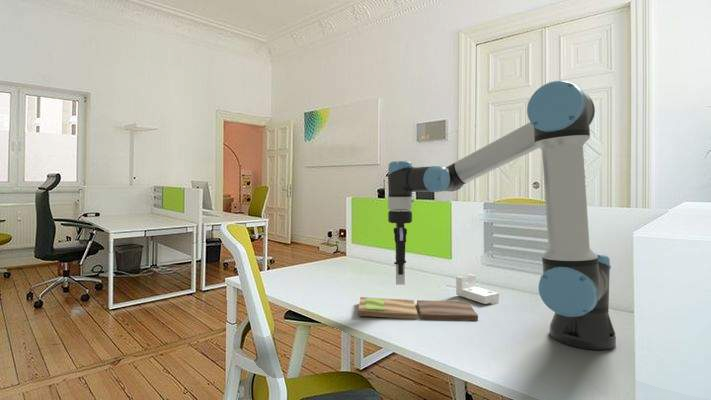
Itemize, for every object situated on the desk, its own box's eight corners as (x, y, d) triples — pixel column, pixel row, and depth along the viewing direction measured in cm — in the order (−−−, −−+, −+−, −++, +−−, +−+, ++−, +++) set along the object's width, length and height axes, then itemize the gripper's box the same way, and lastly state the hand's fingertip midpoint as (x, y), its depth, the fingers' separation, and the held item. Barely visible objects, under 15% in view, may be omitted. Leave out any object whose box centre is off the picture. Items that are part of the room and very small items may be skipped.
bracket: (456, 297, 141) (456, 276, 141) (469, 294, 145) (469, 274, 145) (484, 306, 130) (485, 284, 130) (498, 303, 134) (499, 281, 134)
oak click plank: (417, 319, 117) (417, 313, 117) (358, 315, 118) (358, 309, 118) (413, 304, 131) (413, 299, 131) (360, 301, 132) (360, 296, 132)
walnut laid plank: (477, 320, 116) (478, 315, 116) (421, 319, 117) (421, 314, 117) (467, 305, 130) (467, 301, 130) (416, 304, 131) (416, 300, 131)
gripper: (414, 211, 116) (414, 289, 117) (410, 208, 129) (410, 279, 130) (388, 211, 117) (389, 289, 118) (387, 209, 130) (387, 279, 131)
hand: (400, 283), depth 124 cm, fingers closed
